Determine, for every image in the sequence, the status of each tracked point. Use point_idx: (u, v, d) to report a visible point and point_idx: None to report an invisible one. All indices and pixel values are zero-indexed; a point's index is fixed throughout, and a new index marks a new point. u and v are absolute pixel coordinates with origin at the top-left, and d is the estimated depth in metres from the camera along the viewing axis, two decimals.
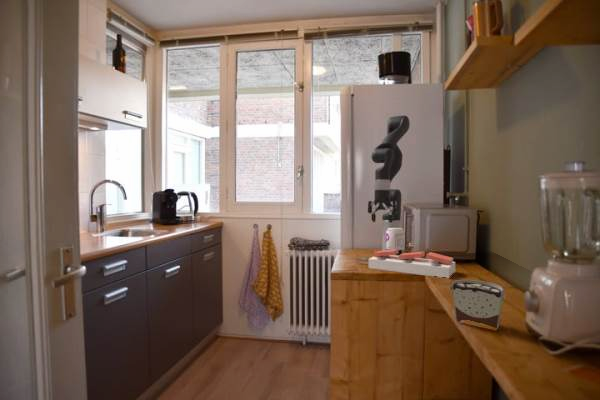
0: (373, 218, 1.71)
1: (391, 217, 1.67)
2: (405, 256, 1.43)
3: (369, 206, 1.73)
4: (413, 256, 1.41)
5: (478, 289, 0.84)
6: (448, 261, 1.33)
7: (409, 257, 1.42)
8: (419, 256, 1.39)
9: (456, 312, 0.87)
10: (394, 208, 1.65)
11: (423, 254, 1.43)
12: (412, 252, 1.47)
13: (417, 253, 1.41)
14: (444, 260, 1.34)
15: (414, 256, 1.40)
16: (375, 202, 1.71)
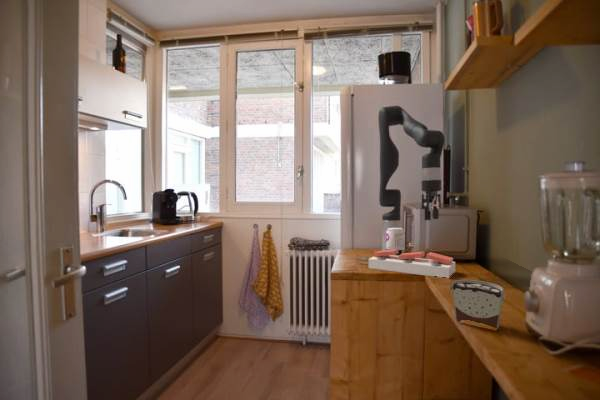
0: (430, 215, 1.36)
1: None
2: (405, 256, 1.43)
3: (428, 200, 1.35)
4: (413, 256, 1.41)
5: (478, 289, 0.84)
6: (448, 261, 1.33)
7: (409, 257, 1.42)
8: (419, 256, 1.39)
9: (456, 312, 0.87)
10: (440, 202, 1.44)
11: (423, 254, 1.43)
12: (412, 252, 1.47)
13: (417, 253, 1.41)
14: (444, 260, 1.34)
15: (414, 256, 1.40)
16: (431, 195, 1.37)
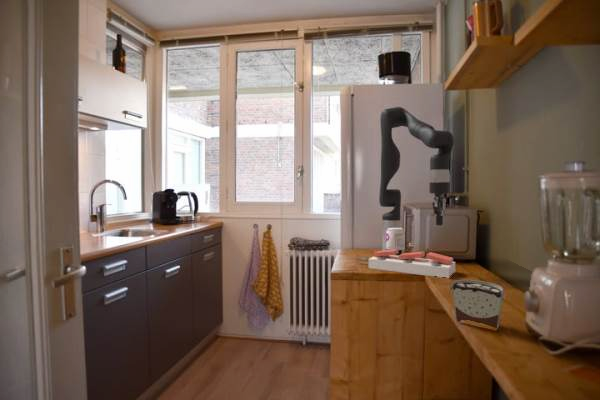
0: (442, 220, 1.37)
1: None
2: (405, 256, 1.43)
3: (440, 207, 1.33)
4: (413, 256, 1.41)
5: (478, 289, 0.84)
6: (448, 261, 1.33)
7: (409, 257, 1.42)
8: (419, 256, 1.39)
9: (456, 312, 0.87)
10: (444, 208, 1.40)
11: (423, 254, 1.43)
12: (412, 252, 1.47)
13: (417, 253, 1.41)
14: (444, 260, 1.34)
15: (414, 256, 1.40)
16: (440, 201, 1.34)
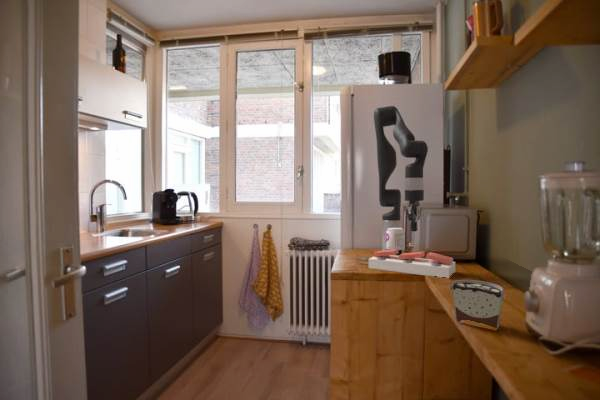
0: (416, 227, 1.42)
1: None
2: (405, 256, 1.43)
3: (413, 214, 1.39)
4: (413, 256, 1.41)
5: (478, 289, 0.84)
6: (448, 261, 1.33)
7: (409, 257, 1.42)
8: (419, 256, 1.39)
9: (456, 312, 0.87)
10: (419, 215, 1.45)
11: (423, 254, 1.43)
12: (412, 252, 1.47)
13: (417, 253, 1.41)
14: (444, 260, 1.34)
15: (414, 256, 1.40)
16: (414, 208, 1.39)
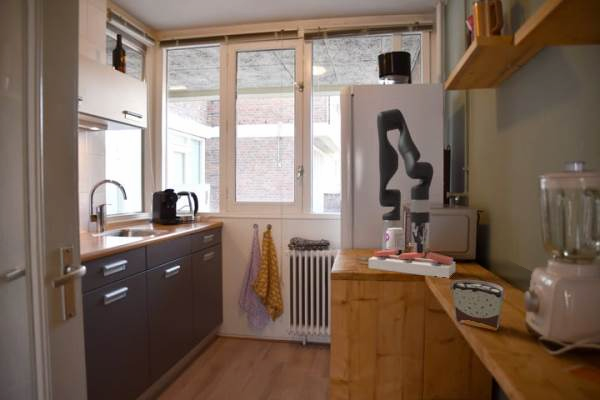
0: (422, 249, 1.41)
1: None
2: (405, 256, 1.43)
3: (419, 236, 1.38)
4: (413, 256, 1.41)
5: (478, 289, 0.84)
6: (448, 261, 1.33)
7: (409, 257, 1.42)
8: (419, 256, 1.39)
9: (456, 312, 0.87)
10: (425, 236, 1.44)
11: (423, 254, 1.43)
12: (412, 252, 1.47)
13: (417, 253, 1.41)
14: (444, 260, 1.34)
15: (414, 256, 1.40)
16: (420, 231, 1.39)
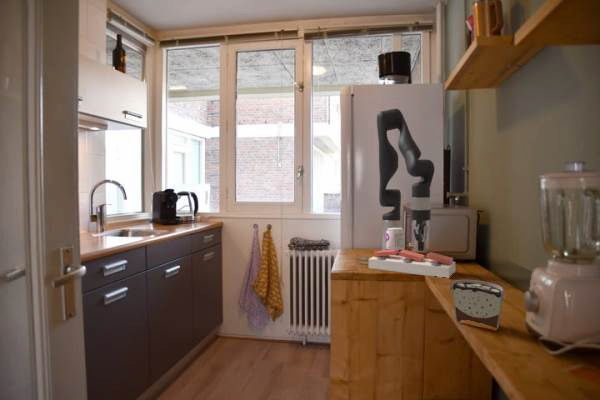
0: (423, 246, 1.41)
1: None
2: (405, 255, 1.43)
3: (421, 234, 1.38)
4: (413, 257, 1.41)
5: (478, 289, 0.84)
6: (448, 261, 1.33)
7: (409, 257, 1.42)
8: (419, 259, 1.39)
9: (456, 312, 0.87)
10: (426, 233, 1.45)
11: (423, 258, 1.43)
12: (413, 252, 1.47)
13: (418, 256, 1.41)
14: (444, 260, 1.34)
15: (414, 258, 1.41)
16: (421, 228, 1.39)
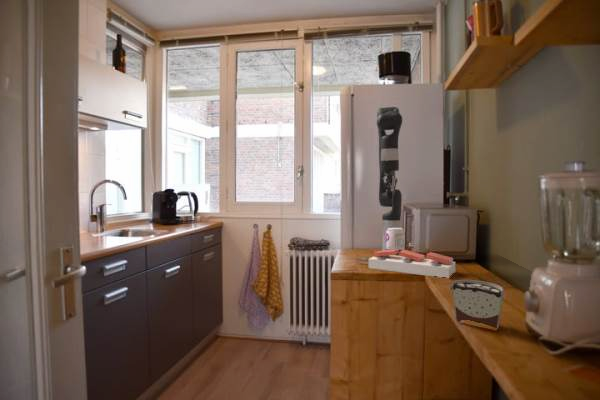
0: (392, 196, 1.49)
1: None
2: (405, 255, 1.43)
3: (389, 183, 1.46)
4: (413, 257, 1.41)
5: (478, 289, 0.84)
6: (448, 261, 1.33)
7: (409, 257, 1.42)
8: (419, 259, 1.39)
9: (456, 312, 0.87)
10: (395, 185, 1.52)
11: (423, 258, 1.43)
12: (413, 252, 1.47)
13: (418, 256, 1.41)
14: (444, 260, 1.34)
15: (414, 258, 1.41)
16: (389, 178, 1.47)
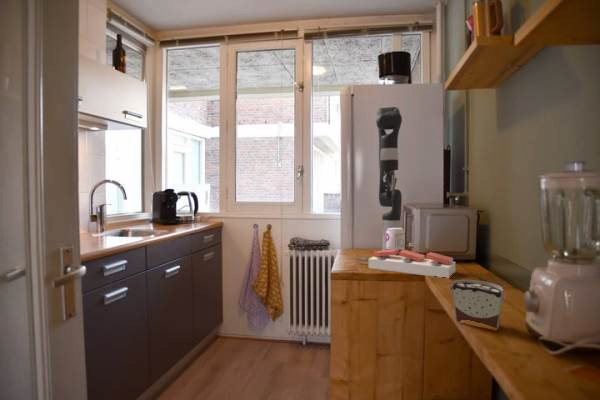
0: (391, 195, 1.49)
1: None
2: (405, 255, 1.43)
3: (388, 182, 1.46)
4: (413, 257, 1.41)
5: (478, 289, 0.84)
6: (448, 261, 1.33)
7: (409, 257, 1.42)
8: (419, 259, 1.39)
9: (456, 312, 0.87)
10: (395, 184, 1.53)
11: (423, 258, 1.43)
12: (413, 252, 1.47)
13: (418, 256, 1.41)
14: (444, 260, 1.34)
15: (414, 258, 1.41)
16: (389, 177, 1.47)
